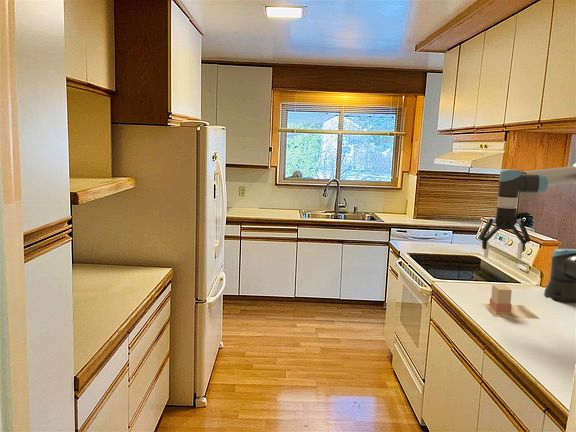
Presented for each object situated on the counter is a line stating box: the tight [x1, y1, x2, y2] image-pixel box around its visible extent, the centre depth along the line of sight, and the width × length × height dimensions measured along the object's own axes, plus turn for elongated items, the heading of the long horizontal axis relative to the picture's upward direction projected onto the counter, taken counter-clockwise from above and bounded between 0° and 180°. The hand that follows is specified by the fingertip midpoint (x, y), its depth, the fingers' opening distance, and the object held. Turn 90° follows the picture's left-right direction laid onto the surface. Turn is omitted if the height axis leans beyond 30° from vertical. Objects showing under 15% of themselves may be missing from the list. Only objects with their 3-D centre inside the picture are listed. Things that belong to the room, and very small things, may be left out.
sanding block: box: [488, 284, 513, 314], centre depth 200 cm, size 6×8×10 cm
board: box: [481, 303, 541, 320], centre depth 200 cm, size 18×16×1 cm
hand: (502, 257), depth 199 cm, fingers open, 13 cm apart
